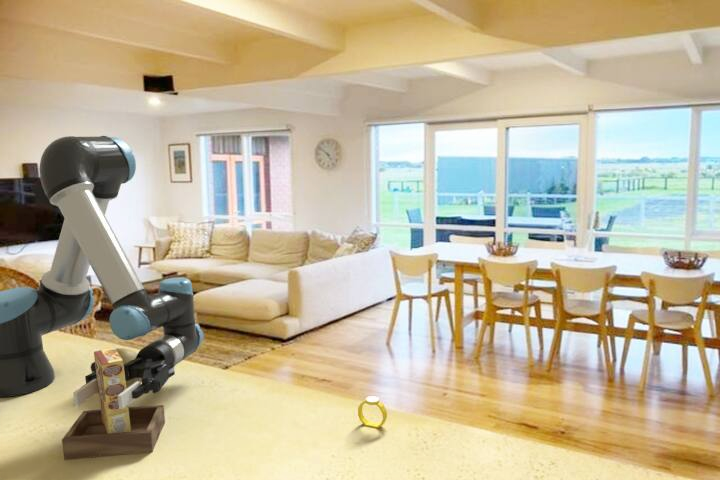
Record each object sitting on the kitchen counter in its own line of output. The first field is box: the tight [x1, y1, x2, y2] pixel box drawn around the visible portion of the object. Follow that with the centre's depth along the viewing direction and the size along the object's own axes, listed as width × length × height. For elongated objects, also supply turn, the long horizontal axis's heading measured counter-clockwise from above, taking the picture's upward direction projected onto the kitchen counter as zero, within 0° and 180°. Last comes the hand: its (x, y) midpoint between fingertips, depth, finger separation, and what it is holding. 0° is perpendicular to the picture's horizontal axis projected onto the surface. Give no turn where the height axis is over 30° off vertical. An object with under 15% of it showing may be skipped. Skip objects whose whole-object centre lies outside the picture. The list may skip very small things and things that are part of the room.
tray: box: [61, 404, 166, 461], centre depth 116 cm, size 12×16×4 cm
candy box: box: [93, 347, 131, 434], centre depth 114 cm, size 9×4×15 cm, turn 33°
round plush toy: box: [90, 347, 142, 389], centre depth 139 cm, size 10×12×11 cm
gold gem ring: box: [357, 395, 388, 429], centre depth 119 cm, size 6×3×6 cm, turn 64°
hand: (97, 400), depth 110 cm, fingers closed on candy box, 9 cm apart
